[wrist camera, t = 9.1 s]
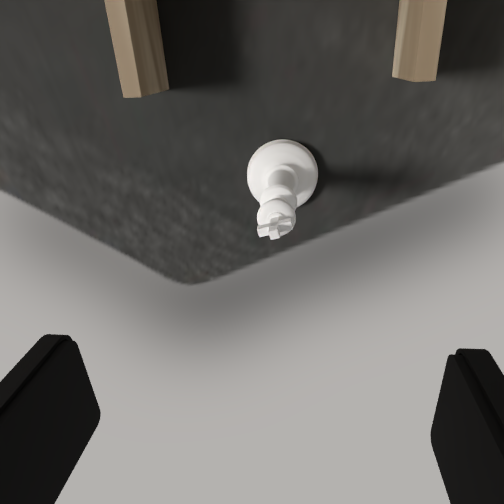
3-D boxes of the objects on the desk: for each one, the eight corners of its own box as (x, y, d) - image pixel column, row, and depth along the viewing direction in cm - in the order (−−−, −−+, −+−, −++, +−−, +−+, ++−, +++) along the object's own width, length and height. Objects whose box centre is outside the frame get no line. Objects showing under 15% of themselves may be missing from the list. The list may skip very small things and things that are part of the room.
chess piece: (324, 199, 27) (337, 268, 18) (258, 215, 28) (240, 288, 19) (308, 130, 25) (313, 170, 16) (238, 150, 26) (207, 199, 17)
